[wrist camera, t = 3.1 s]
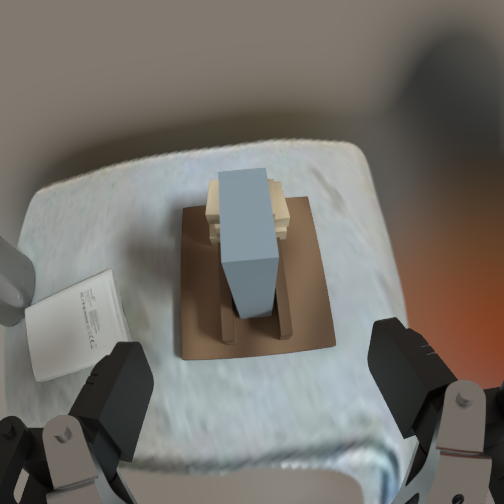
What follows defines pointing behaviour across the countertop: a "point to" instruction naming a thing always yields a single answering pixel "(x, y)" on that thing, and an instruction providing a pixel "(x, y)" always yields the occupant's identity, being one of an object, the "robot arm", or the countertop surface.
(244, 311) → the slate-blue block
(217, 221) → the birch offcut stack
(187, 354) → the walnut stand
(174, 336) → the countertop surface
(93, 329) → the external hard drive
